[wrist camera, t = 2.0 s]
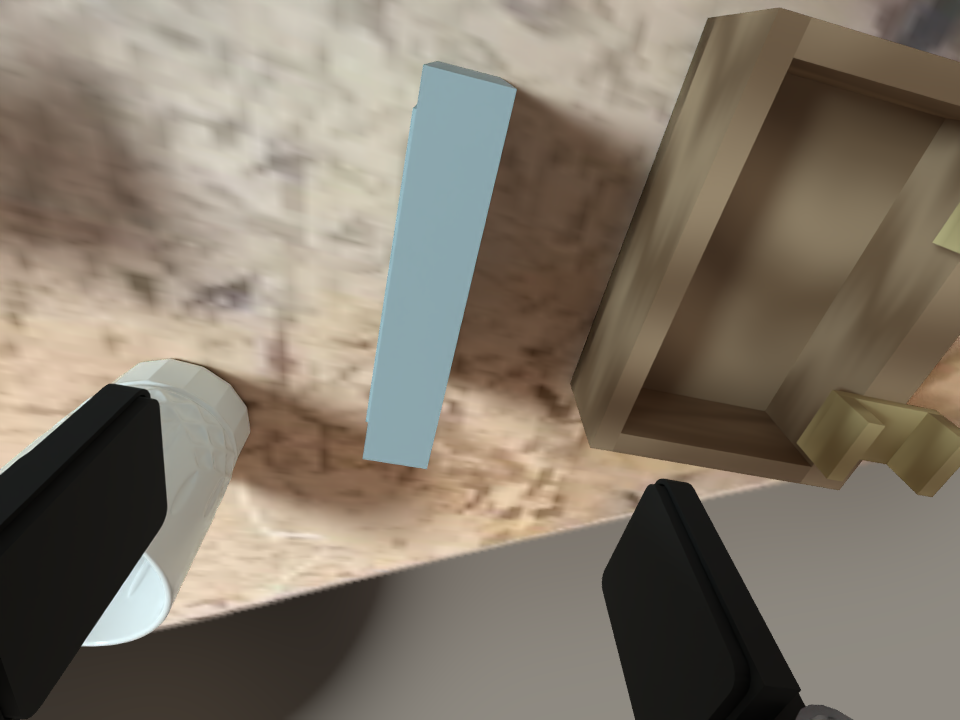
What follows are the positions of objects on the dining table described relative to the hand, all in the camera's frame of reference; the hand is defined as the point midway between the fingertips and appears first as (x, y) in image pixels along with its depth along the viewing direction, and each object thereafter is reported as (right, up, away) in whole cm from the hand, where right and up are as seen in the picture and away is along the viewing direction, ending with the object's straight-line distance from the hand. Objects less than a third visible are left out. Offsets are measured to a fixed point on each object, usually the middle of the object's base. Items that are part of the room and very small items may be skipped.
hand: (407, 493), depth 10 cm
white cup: (-14, 0, +17) cm, 22 cm away
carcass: (+14, +7, +13) cm, 20 cm away
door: (0, +8, +13) cm, 15 cm away
